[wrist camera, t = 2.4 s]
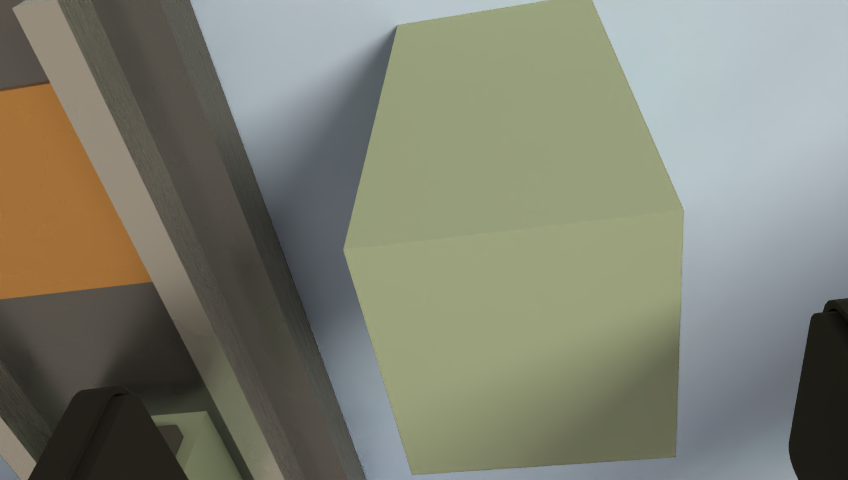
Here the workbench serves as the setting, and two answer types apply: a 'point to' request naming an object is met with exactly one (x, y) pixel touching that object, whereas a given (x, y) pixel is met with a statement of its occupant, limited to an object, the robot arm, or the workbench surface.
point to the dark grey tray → (145, 244)
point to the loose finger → (518, 246)
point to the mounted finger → (197, 446)
